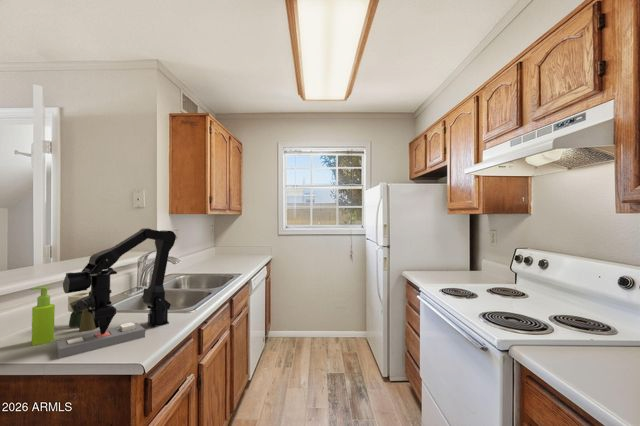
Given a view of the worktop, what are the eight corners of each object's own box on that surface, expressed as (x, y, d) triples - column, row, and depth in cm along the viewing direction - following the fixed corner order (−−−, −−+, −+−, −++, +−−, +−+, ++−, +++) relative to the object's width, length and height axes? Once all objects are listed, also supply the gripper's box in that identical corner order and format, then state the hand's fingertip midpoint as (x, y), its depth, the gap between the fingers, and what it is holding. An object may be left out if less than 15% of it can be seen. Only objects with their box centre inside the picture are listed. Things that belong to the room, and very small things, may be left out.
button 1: (81, 345, 103) (82, 337, 103) (83, 349, 100) (84, 340, 100) (66, 349, 100) (66, 340, 100) (68, 353, 97) (68, 343, 97)
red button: (108, 339, 108) (108, 331, 108) (110, 342, 105) (110, 334, 105) (94, 343, 105) (94, 334, 105) (96, 346, 102) (96, 337, 103)
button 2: (132, 330, 114) (132, 322, 114) (135, 332, 111) (135, 324, 111) (119, 333, 111) (119, 324, 111) (122, 335, 108) (122, 327, 108)
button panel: (137, 331, 117) (137, 322, 117) (144, 338, 110) (145, 329, 110) (55, 350, 100) (56, 340, 100) (59, 360, 93) (59, 349, 93)
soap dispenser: (37, 340, 109) (39, 285, 110) (58, 339, 110) (59, 285, 110) (23, 347, 103) (24, 289, 104) (44, 346, 104) (46, 288, 104)
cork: (87, 333, 116) (88, 304, 116) (74, 332, 117) (75, 304, 117) (101, 328, 122) (102, 300, 122) (89, 327, 123) (90, 300, 123)
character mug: (92, 326, 123) (93, 294, 124) (70, 331, 118) (71, 298, 118) (85, 320, 130) (86, 290, 131) (64, 325, 125) (65, 294, 125)
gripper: (68, 287, 110) (67, 330, 110) (76, 296, 97) (75, 344, 97) (105, 282, 118) (104, 322, 118) (116, 290, 105) (116, 335, 105)
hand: (100, 330), depth 109 cm, fingers open, 9 cm apart
